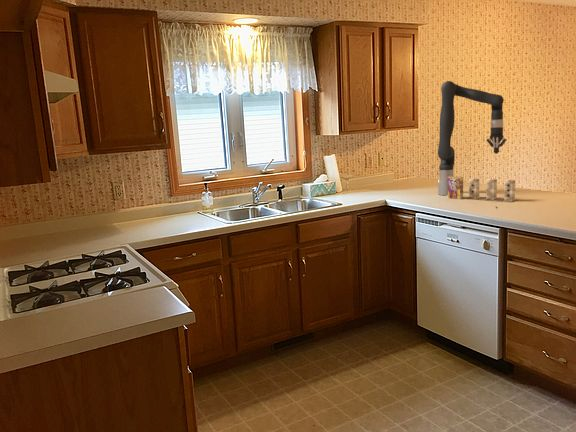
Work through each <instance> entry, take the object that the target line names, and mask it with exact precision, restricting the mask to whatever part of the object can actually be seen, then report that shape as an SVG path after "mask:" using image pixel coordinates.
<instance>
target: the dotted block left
mask: <svg viewBox="0 0 576 432" xmlns="http://www.w3.org/2000/svg"><path fill="white" fill-rule="evenodd" d="M468 196H469V198H472V199H477V198H479V197H480V178H473V177H472V178H470V179H468Z"/></svg>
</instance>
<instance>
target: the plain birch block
mask: <svg viewBox="0 0 576 432" xmlns="http://www.w3.org/2000/svg"><path fill="white" fill-rule="evenodd" d="M485 180H486V183H485V186H486V189H485V190H486V191H485V197H486V199H490V200H494V199H497V197H498V193H497V192H498V191H497V190H498V179H497V178H488V179H485Z"/></svg>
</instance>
